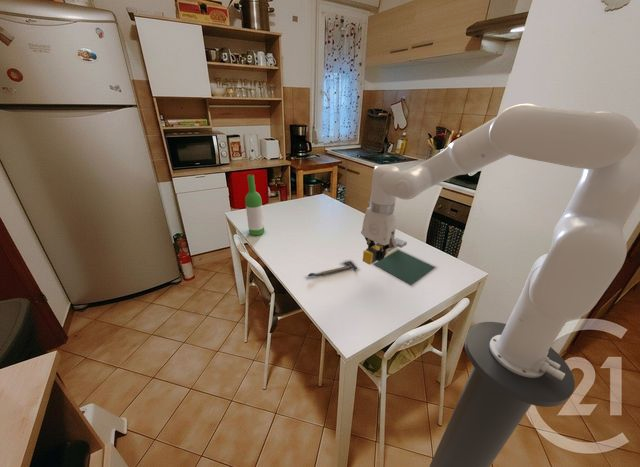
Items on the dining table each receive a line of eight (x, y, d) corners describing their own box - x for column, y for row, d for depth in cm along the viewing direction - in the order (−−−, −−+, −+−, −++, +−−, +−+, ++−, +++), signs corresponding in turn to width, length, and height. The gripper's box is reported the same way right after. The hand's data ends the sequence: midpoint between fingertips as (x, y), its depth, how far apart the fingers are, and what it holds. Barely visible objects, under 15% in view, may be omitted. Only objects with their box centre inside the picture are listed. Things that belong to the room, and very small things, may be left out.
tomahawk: (350, 262, 113) (350, 260, 113) (357, 269, 108) (357, 267, 107) (304, 271, 107) (304, 268, 106) (309, 279, 101) (309, 276, 101)
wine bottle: (266, 229, 138) (261, 173, 124) (262, 236, 132) (256, 178, 118) (252, 228, 139) (245, 172, 125) (247, 235, 132) (239, 177, 118)
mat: (434, 267, 110) (434, 267, 110) (411, 284, 99) (411, 284, 99) (398, 250, 122) (398, 249, 122) (373, 264, 111) (373, 263, 111)
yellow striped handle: (406, 244, 97) (408, 235, 95) (371, 265, 85) (372, 255, 83) (396, 240, 100) (397, 230, 98) (360, 260, 88) (361, 249, 86)
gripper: (353, 202, 84) (350, 251, 92) (398, 218, 73) (389, 272, 81) (368, 197, 88) (363, 244, 97) (412, 211, 77) (402, 263, 86)
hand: (375, 256), depth 89 cm, fingers closed on yellow striped handle, 3 cm apart
